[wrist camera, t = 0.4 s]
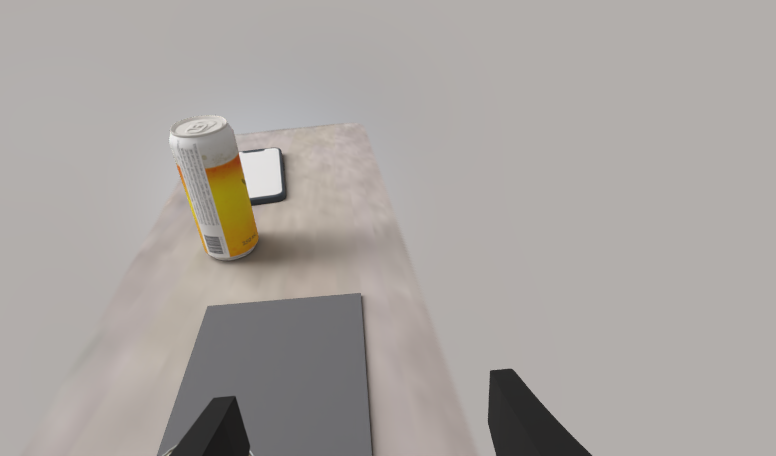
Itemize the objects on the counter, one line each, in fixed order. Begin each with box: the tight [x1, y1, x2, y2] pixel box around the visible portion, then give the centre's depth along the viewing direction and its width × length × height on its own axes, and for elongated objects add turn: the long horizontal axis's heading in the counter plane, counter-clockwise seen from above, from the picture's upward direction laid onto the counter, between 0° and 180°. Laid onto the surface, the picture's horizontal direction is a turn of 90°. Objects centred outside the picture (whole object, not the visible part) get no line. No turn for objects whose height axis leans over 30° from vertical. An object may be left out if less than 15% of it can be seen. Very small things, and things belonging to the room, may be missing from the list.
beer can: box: [169, 115, 259, 261], centre depth 47 cm, size 6×6×15 cm
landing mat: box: [157, 293, 372, 456], centre depth 35 cm, size 20×15×1 cm
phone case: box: [239, 148, 286, 205], centre depth 65 cm, size 9×2×16 cm
